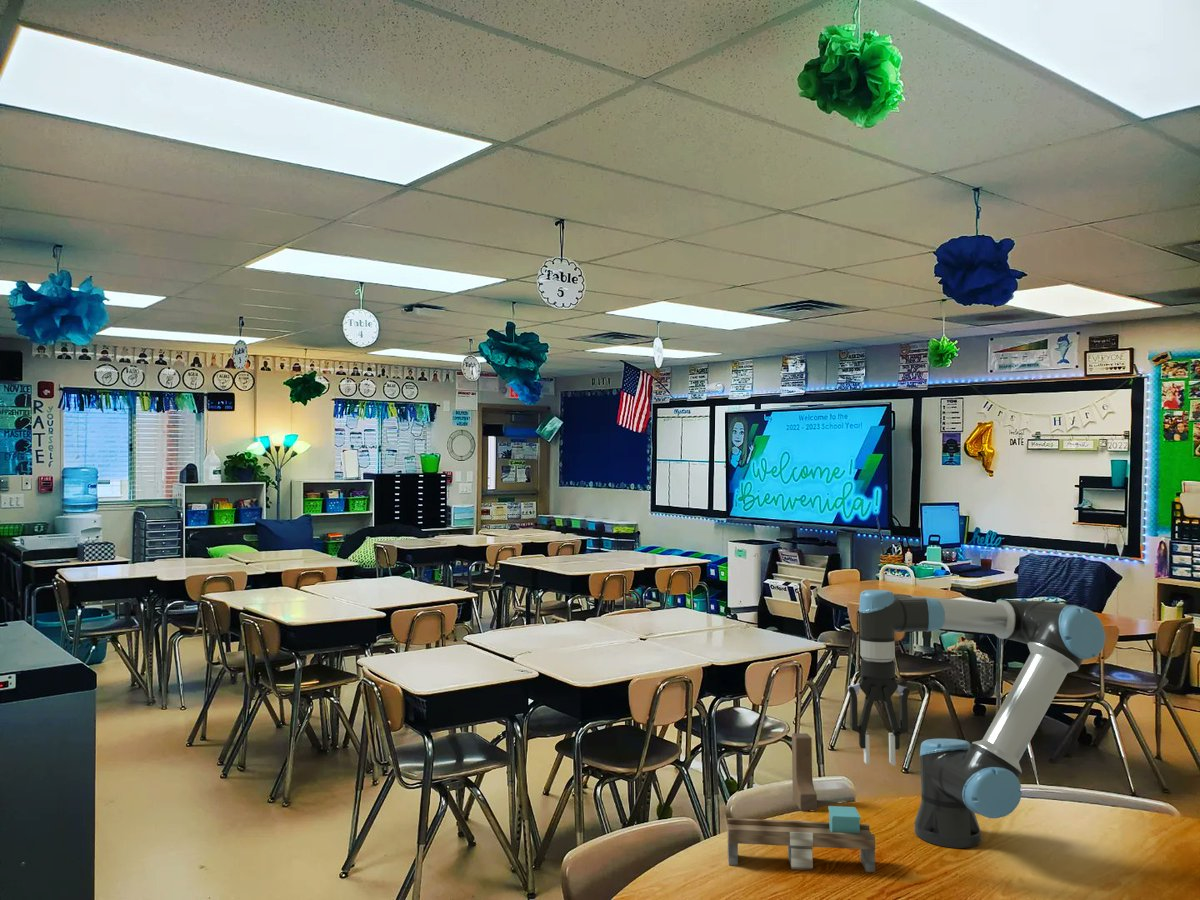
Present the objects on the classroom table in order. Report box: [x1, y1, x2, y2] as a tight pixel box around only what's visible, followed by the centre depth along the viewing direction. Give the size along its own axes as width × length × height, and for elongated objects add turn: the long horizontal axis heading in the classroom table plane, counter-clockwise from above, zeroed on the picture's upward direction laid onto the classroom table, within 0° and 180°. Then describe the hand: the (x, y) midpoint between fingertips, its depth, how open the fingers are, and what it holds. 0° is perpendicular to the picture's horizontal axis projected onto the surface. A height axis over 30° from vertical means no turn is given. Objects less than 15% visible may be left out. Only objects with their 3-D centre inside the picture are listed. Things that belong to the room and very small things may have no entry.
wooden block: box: [791, 732, 818, 812], centre depth 229 cm, size 9×4×18 cm, turn 0°
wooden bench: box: [726, 817, 876, 873], centre depth 192 cm, size 32×7×8 cm, turn 84°
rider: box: [827, 805, 862, 833], centre depth 191 cm, size 6×6×5 cm
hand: (879, 763), depth 191 cm, fingers open, 5 cm apart
